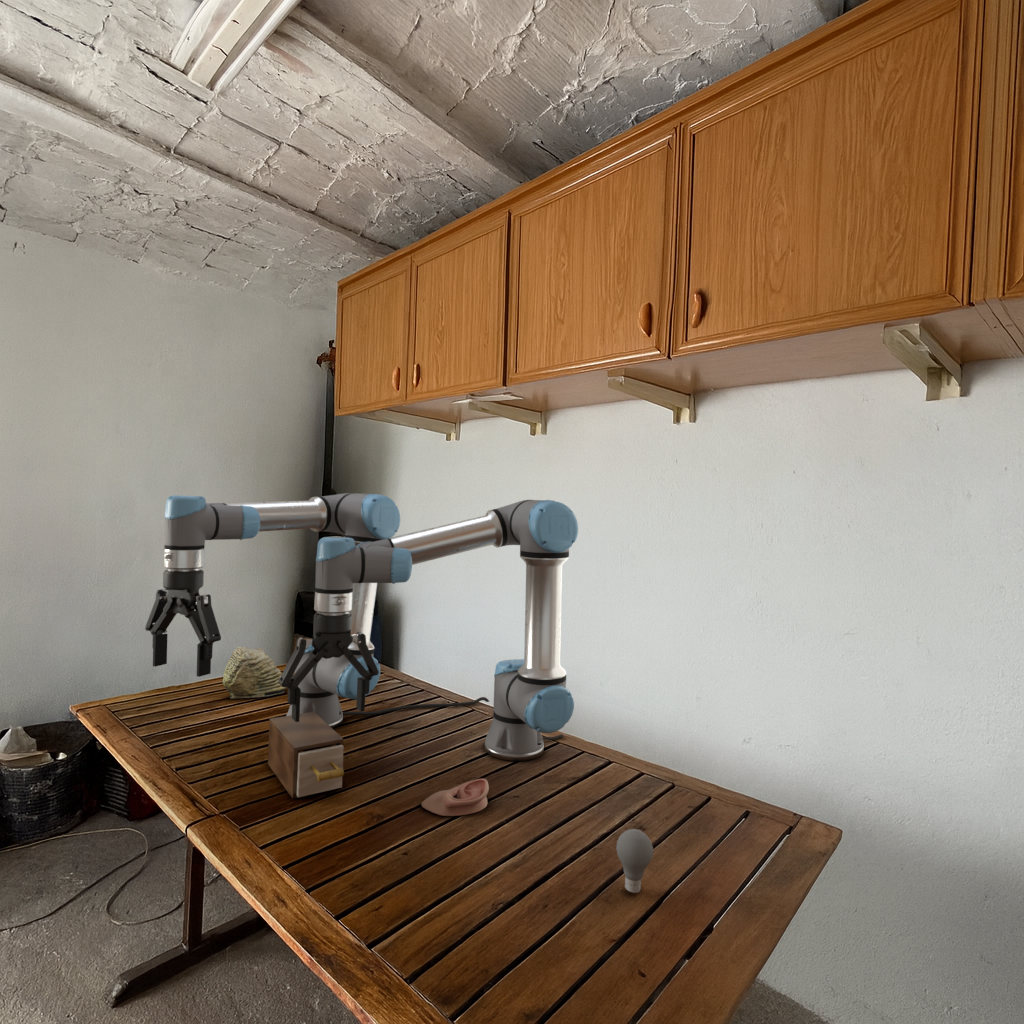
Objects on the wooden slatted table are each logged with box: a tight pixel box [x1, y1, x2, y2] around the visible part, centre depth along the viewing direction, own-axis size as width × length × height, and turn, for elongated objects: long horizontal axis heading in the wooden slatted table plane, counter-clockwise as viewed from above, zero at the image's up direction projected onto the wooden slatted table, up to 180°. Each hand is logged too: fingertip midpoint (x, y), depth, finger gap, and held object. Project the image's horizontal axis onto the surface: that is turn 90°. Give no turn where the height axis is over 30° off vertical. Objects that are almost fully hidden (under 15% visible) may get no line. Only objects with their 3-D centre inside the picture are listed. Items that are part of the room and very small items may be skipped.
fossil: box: [222, 646, 287, 699], centre depth 198 cm, size 9×18×15 cm, turn 132°
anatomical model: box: [421, 778, 490, 817], centre depth 133 cm, size 13×4×12 cm
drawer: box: [297, 744, 345, 798], centre depth 139 cm, size 25×9×9 cm, turn 35°
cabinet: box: [267, 712, 344, 799], centre depth 143 cm, size 20×10×11 cm, turn 35°
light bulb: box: [615, 828, 654, 894], centre depth 106 cm, size 6×6×10 cm
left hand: (181, 670), depth 133 cm, fingers open, 13 cm apart
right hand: (328, 714), depth 131 cm, fingers open, 13 cm apart
